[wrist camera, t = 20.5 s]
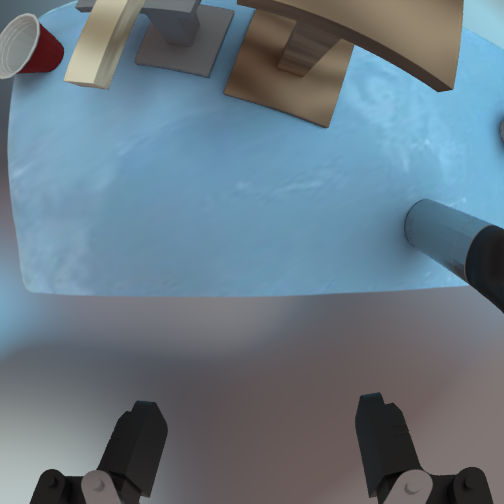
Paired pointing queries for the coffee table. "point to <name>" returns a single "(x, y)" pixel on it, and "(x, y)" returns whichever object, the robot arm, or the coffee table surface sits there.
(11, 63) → the plastic cup
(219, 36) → the charcoal stand
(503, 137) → the house plant
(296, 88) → the walnut stand
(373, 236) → the coffee table surface
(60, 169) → the coffee table surface
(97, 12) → the birch block
